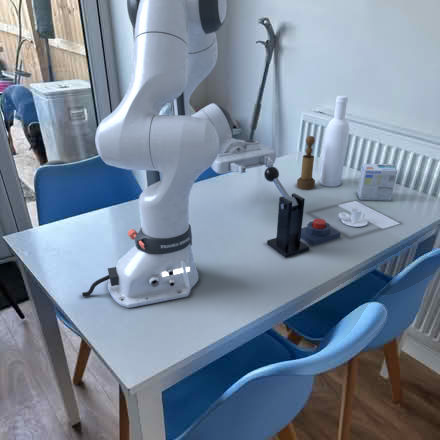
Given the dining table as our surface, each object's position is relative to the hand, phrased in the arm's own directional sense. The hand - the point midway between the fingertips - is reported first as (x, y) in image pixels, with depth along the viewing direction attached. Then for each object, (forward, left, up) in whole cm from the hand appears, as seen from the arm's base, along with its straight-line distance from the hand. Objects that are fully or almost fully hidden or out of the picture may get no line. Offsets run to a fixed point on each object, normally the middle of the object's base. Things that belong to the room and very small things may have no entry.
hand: (257, 167), depth 121 cm
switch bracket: (0, -17, -18) cm, 24 cm away
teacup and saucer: (+29, -12, -18) cm, 36 cm away
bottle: (+43, +15, -18) cm, 49 cm away
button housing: (+12, -16, -18) cm, 27 cm away
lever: (0, -11, -4) cm, 11 cm away
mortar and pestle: (+33, +17, -18) cm, 42 cm away
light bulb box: (+47, -3, -18) cm, 51 cm away
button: (+12, -16, -15) cm, 25 cm away
